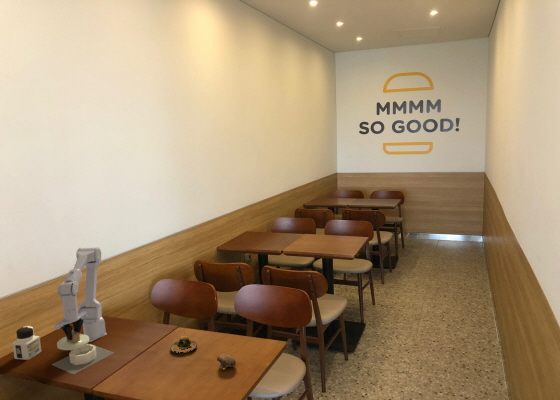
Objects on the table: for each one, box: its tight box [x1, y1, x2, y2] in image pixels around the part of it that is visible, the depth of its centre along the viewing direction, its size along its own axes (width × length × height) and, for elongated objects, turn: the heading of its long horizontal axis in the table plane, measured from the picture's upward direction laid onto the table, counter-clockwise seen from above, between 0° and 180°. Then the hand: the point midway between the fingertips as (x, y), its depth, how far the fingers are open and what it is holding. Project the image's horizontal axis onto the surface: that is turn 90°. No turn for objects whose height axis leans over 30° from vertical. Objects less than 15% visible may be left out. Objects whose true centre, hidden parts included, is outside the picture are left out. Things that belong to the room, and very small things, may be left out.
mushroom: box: [216, 353, 237, 370], centre depth 179 cm, size 8×8×6 cm
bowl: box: [68, 343, 97, 365], centre depth 189 cm, size 10×10×4 cm
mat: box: [51, 344, 115, 375], centre depth 189 cm, size 20×16×1 cm
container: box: [12, 325, 42, 361], centre depth 193 cm, size 8×8×13 cm
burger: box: [169, 331, 198, 354], centre depth 195 cm, size 12×12×8 cm
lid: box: [56, 329, 90, 351], centre depth 190 cm, size 13×13×5 cm
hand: (73, 337), depth 190 cm, fingers closed on lid, 3 cm apart
